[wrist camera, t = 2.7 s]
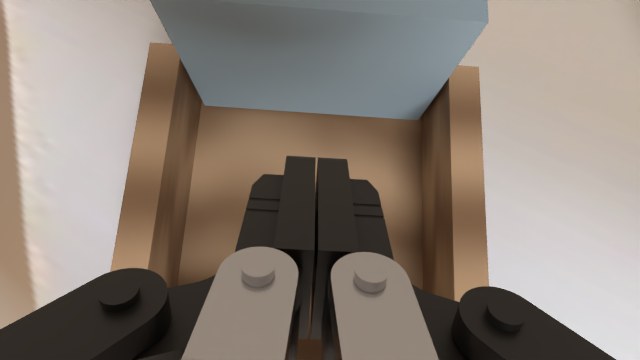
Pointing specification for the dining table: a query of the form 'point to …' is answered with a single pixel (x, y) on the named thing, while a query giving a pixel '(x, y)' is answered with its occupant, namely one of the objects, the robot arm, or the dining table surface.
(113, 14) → the dining table surface
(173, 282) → the open wooden box
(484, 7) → the flat rectangular panel
